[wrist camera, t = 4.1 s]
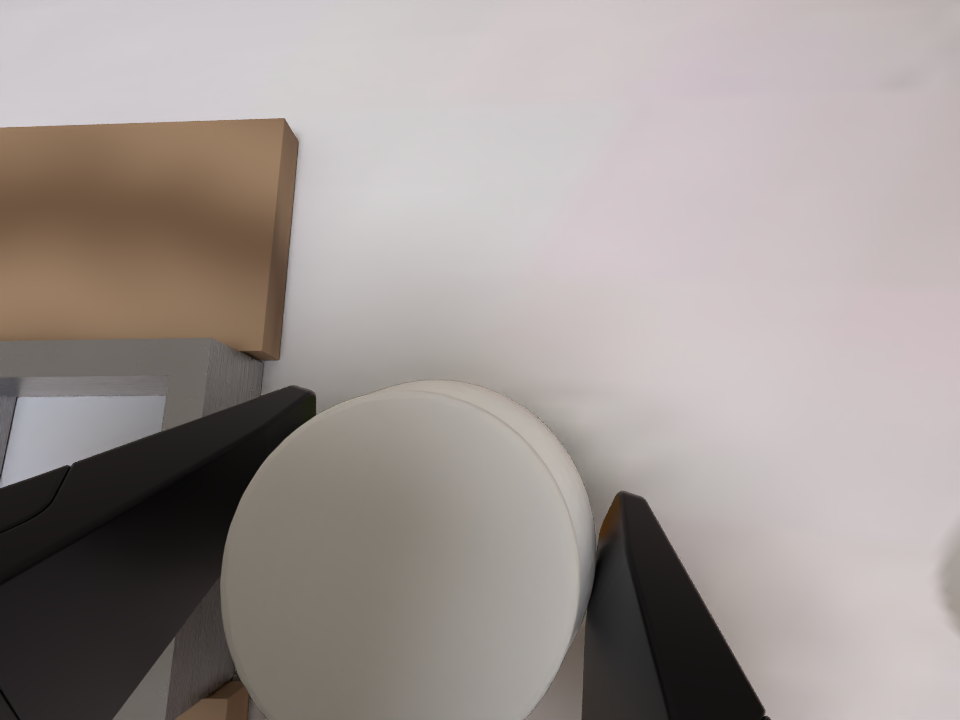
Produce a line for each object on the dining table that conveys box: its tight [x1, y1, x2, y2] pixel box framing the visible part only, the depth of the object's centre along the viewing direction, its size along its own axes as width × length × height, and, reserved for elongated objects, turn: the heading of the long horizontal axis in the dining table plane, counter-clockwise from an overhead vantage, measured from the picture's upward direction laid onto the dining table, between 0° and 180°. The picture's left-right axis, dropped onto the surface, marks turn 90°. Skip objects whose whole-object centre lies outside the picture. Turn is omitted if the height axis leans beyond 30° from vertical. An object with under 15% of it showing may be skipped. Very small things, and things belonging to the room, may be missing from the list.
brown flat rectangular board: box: [0, 118, 298, 720], centre depth 15 cm, size 25×10×1 cm, turn 0°
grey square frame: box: [0, 338, 263, 720], centre depth 14 cm, size 9×9×3 cm
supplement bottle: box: [220, 380, 596, 720], centre depth 10 cm, size 5×5×10 cm
